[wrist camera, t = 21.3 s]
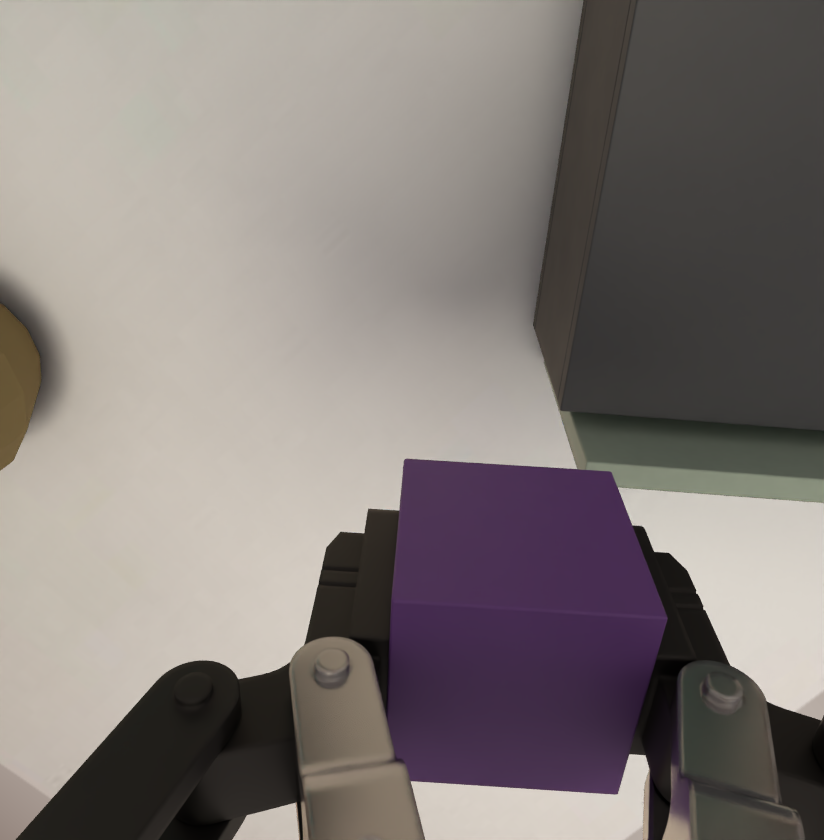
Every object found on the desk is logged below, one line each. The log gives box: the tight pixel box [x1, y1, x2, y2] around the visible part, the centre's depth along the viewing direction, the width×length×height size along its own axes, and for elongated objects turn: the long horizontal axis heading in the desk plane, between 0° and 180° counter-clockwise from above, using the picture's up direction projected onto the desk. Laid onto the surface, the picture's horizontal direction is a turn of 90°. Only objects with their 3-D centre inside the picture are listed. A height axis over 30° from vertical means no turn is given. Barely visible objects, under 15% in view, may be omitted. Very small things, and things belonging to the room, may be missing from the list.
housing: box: [533, 0, 824, 431], centre depth 22 cm, size 14×11×7 cm
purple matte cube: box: [386, 459, 668, 794], centre depth 13 cm, size 4×4×4 cm
